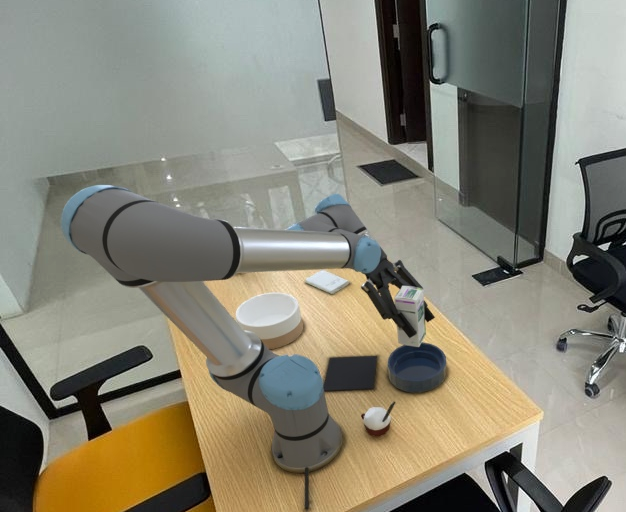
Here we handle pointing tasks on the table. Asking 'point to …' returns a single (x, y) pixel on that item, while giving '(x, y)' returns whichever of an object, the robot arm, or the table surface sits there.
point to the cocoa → (377, 420)
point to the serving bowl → (417, 367)
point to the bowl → (271, 318)
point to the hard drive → (327, 281)
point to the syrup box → (411, 314)
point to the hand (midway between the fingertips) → (422, 327)
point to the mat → (350, 373)
